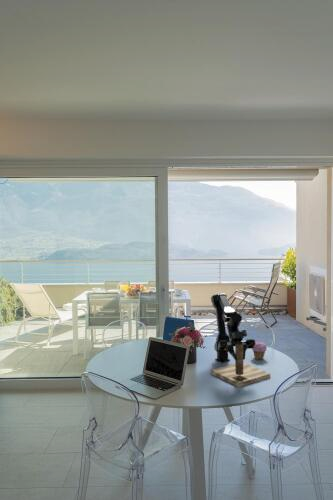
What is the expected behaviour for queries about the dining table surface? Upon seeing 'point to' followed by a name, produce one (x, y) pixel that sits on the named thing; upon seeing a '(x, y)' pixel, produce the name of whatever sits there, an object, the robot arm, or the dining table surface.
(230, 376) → the stool top
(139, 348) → the dining table surface
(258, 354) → the cupcake
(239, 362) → the stool leg
